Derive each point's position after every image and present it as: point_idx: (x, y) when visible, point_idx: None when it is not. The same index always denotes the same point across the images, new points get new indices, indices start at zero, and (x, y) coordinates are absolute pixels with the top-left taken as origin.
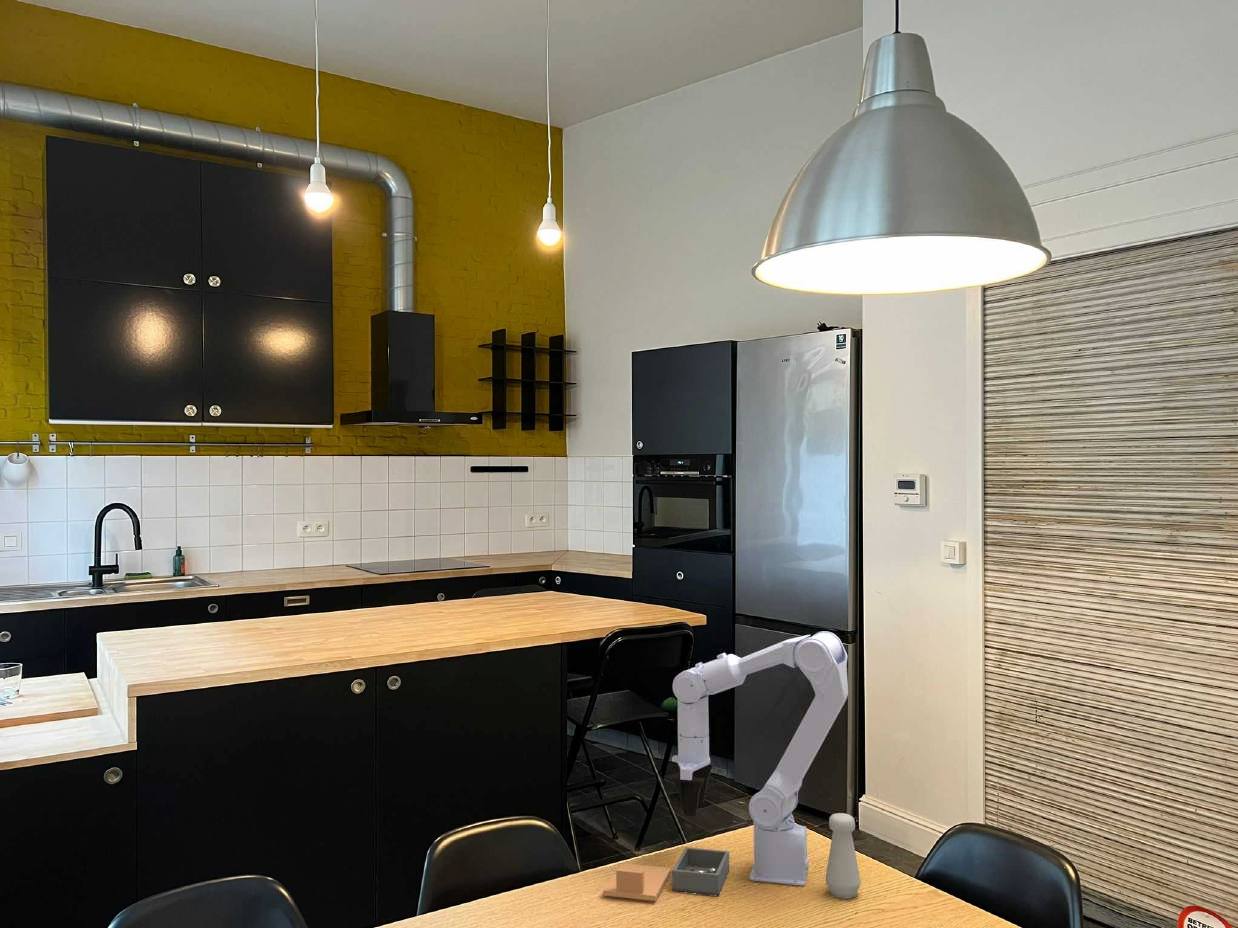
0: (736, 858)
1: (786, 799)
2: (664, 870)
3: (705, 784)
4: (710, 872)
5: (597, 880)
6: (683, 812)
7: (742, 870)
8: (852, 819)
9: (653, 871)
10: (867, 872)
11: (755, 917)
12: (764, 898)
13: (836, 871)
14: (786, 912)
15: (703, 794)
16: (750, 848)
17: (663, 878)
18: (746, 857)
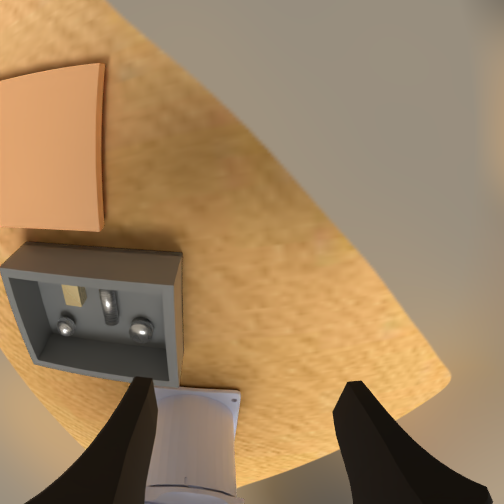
0: (268, 357)
1: None
2: (77, 214)
3: (351, 484)
4: (131, 324)
5: (35, 28)
6: (131, 382)
7: (197, 371)
8: None
9: (61, 183)
10: (237, 475)
11: (21, 375)
12: (85, 393)
13: None
14: (59, 408)
15: (340, 442)
16: (332, 372)
17: (31, 223)
18: (277, 372)
